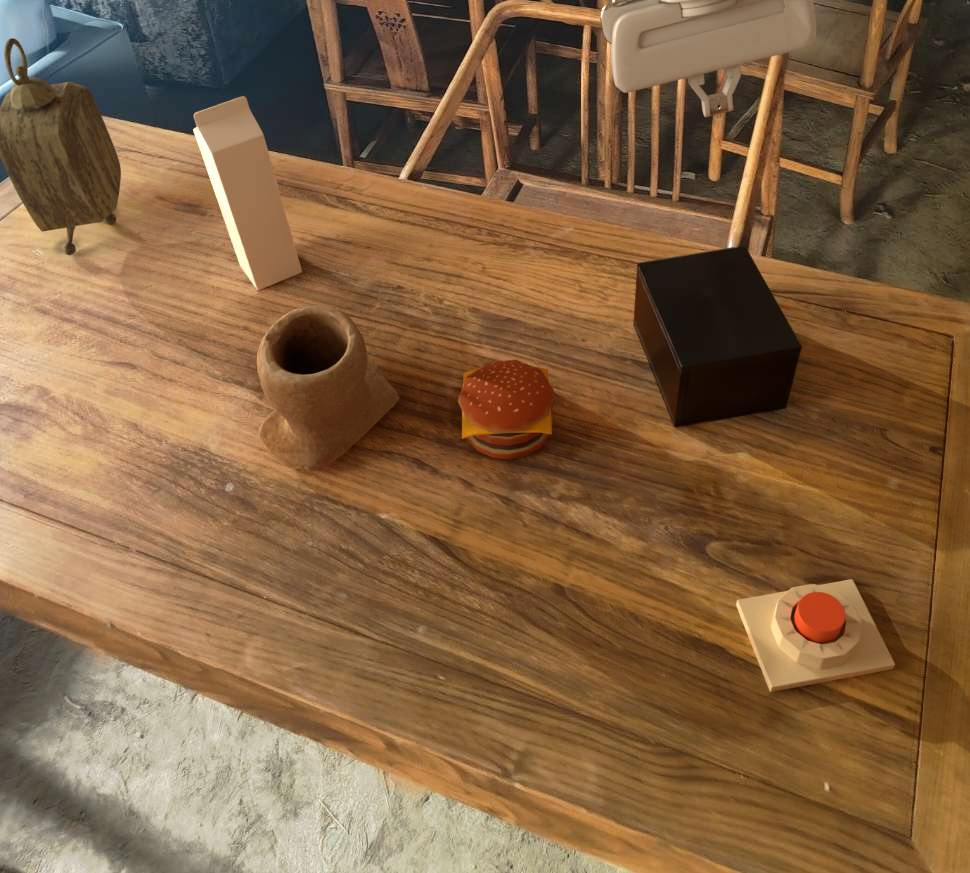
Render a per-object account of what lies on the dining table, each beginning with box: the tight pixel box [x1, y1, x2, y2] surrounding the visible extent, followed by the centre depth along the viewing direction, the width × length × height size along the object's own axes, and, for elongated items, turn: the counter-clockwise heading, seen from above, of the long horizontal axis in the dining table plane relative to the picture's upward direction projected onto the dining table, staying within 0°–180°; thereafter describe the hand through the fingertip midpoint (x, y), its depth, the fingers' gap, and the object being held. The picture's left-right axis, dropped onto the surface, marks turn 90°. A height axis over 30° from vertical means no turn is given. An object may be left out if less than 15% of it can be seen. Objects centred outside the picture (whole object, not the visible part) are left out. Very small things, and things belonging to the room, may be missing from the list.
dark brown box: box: [632, 245, 803, 428], centre depth 95 cm, size 16×12×9 cm
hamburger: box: [457, 359, 556, 460], centre depth 92 cm, size 9×10×7 cm
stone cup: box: [256, 304, 400, 472], centre depth 90 cm, size 15×12×15 cm
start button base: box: [735, 579, 896, 693], centre depth 75 cm, size 10×8×4 cm
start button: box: [794, 592, 846, 643], centre depth 73 cm, size 4×4×2 cm
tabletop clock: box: [0, 37, 122, 256], centre depth 113 cm, size 14×9×25 cm, turn 10°
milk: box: [192, 95, 303, 291], centre depth 106 cm, size 6×6×22 cm
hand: (718, 112), depth 98 cm, fingers closed
